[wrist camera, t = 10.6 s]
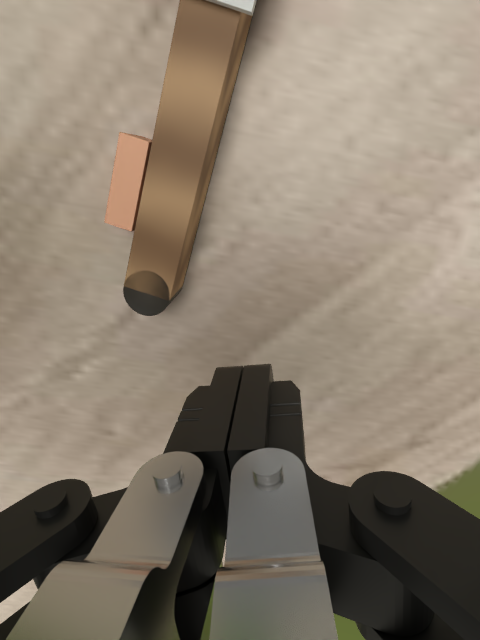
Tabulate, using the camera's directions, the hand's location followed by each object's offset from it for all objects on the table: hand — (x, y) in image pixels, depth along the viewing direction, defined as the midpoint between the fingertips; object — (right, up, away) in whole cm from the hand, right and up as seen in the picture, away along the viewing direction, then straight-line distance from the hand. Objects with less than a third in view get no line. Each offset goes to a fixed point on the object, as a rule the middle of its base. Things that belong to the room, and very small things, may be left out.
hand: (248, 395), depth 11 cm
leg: (-4, +15, +18) cm, 23 cm away
